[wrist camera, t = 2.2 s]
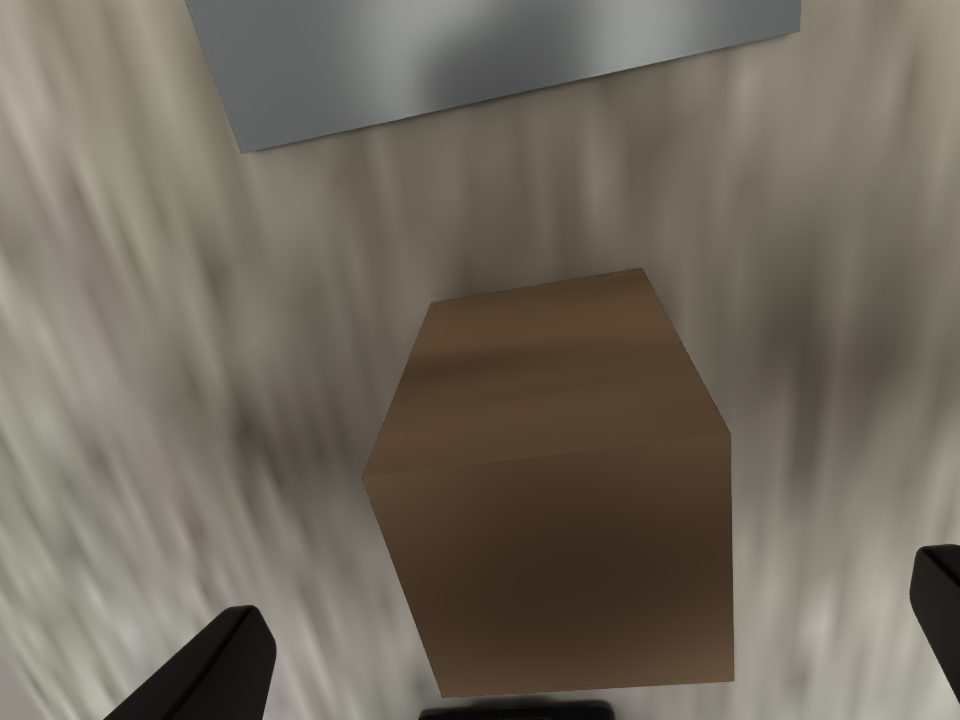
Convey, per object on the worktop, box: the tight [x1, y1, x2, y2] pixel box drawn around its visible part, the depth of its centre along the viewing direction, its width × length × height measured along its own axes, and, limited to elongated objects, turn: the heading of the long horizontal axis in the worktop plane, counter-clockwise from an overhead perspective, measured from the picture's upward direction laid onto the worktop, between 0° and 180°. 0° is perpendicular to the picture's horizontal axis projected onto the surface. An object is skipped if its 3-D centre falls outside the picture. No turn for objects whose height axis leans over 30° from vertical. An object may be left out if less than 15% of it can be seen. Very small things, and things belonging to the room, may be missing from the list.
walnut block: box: [362, 268, 734, 698], centre depth 11 cm, size 4×4×6 cm
